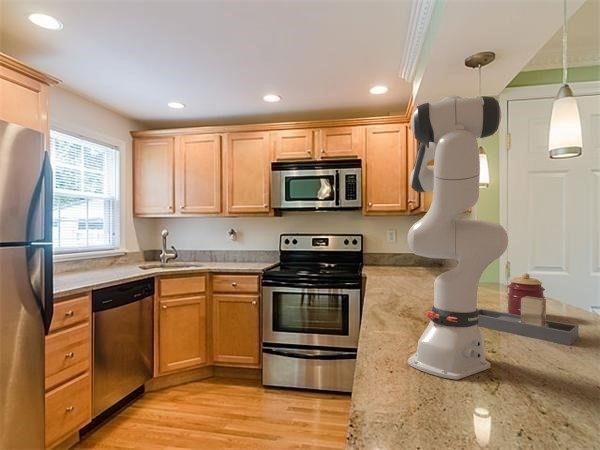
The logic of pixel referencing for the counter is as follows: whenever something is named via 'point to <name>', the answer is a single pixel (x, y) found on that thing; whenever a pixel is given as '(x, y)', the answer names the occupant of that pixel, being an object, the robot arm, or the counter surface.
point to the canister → (522, 292)
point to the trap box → (528, 327)
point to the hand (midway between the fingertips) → (445, 236)
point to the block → (533, 311)
